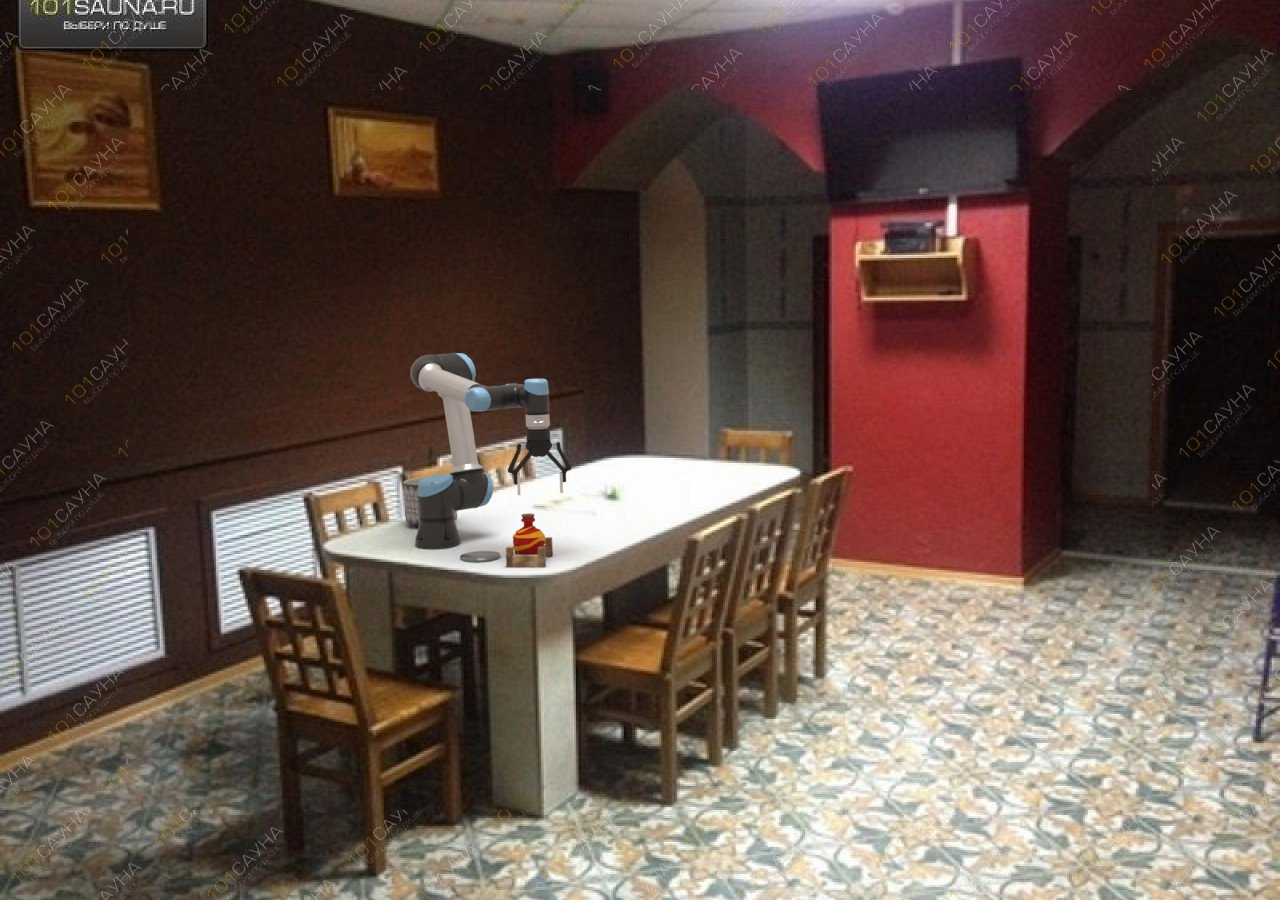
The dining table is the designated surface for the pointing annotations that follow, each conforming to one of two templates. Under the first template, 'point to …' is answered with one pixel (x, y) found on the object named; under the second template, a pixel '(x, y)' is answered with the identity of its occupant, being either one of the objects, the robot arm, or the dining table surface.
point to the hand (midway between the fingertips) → (540, 493)
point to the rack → (529, 556)
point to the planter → (413, 501)
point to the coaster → (480, 556)
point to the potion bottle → (528, 537)
